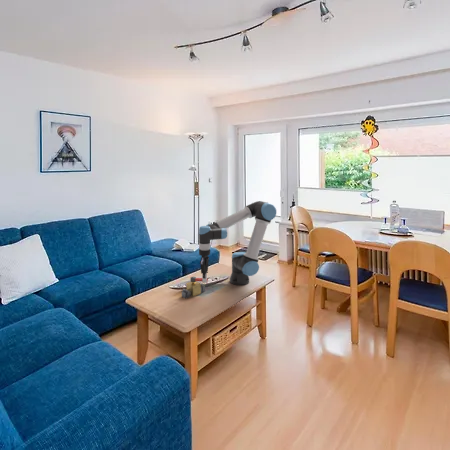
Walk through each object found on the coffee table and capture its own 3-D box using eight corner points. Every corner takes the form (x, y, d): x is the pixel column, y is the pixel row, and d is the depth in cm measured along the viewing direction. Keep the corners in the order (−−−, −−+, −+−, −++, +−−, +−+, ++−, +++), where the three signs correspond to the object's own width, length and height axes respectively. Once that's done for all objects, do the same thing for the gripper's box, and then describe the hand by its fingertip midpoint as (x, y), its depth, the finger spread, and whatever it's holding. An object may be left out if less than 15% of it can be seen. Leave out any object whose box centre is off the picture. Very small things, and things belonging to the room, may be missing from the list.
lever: (189, 281, 219) (189, 278, 218) (191, 279, 223) (191, 276, 222) (207, 282, 218) (206, 279, 217) (208, 280, 221) (207, 277, 221)
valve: (200, 288, 231) (200, 276, 229) (206, 291, 226) (206, 279, 224) (180, 296, 219) (179, 283, 217) (186, 299, 214) (186, 286, 212)
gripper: (202, 246, 221) (202, 278, 225) (196, 250, 208) (196, 284, 213) (212, 247, 219) (212, 279, 223) (206, 251, 206) (206, 286, 211)
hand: (204, 282), depth 218 cm, fingers closed
